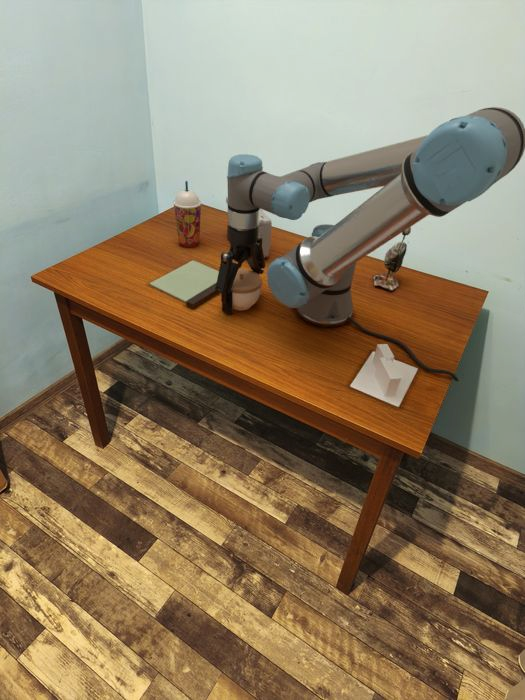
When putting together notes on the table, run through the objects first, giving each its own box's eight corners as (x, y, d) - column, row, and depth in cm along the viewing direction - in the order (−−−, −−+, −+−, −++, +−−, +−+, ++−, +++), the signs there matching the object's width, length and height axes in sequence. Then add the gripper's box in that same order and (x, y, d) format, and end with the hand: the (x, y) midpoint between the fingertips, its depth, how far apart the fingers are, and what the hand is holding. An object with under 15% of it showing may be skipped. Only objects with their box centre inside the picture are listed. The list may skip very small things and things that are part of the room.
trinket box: (267, 301, 124) (270, 271, 119) (246, 320, 117) (247, 289, 111) (235, 289, 129) (236, 259, 123) (212, 306, 121) (211, 275, 115)
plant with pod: (406, 279, 139) (425, 216, 126) (391, 294, 131) (409, 229, 119) (382, 270, 142) (398, 208, 130) (365, 284, 135) (381, 220, 122)
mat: (229, 277, 133) (229, 275, 133) (186, 303, 122) (186, 301, 121) (193, 261, 139) (193, 259, 139) (149, 284, 128) (149, 283, 127)
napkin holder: (399, 407, 97) (406, 388, 93) (349, 386, 101) (354, 367, 97) (418, 368, 107) (425, 349, 103) (372, 350, 111) (377, 332, 107)
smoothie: (174, 238, 150) (170, 177, 137) (199, 236, 152) (197, 175, 140) (178, 250, 144) (174, 187, 131) (204, 248, 146) (203, 185, 134)
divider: (239, 279, 133) (240, 274, 132) (193, 309, 120) (192, 304, 119) (233, 276, 134) (233, 271, 133) (186, 305, 121) (186, 300, 120)
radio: (270, 259, 143) (275, 196, 130) (245, 263, 140) (248, 199, 128) (247, 231, 158) (249, 172, 145) (224, 233, 155) (225, 174, 142)
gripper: (258, 206, 118) (254, 280, 132) (198, 236, 103) (201, 316, 117) (283, 214, 115) (276, 290, 129) (224, 246, 100) (223, 327, 113)
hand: (240, 302), depth 123 cm, fingers closed on trinket box, 11 cm apart
